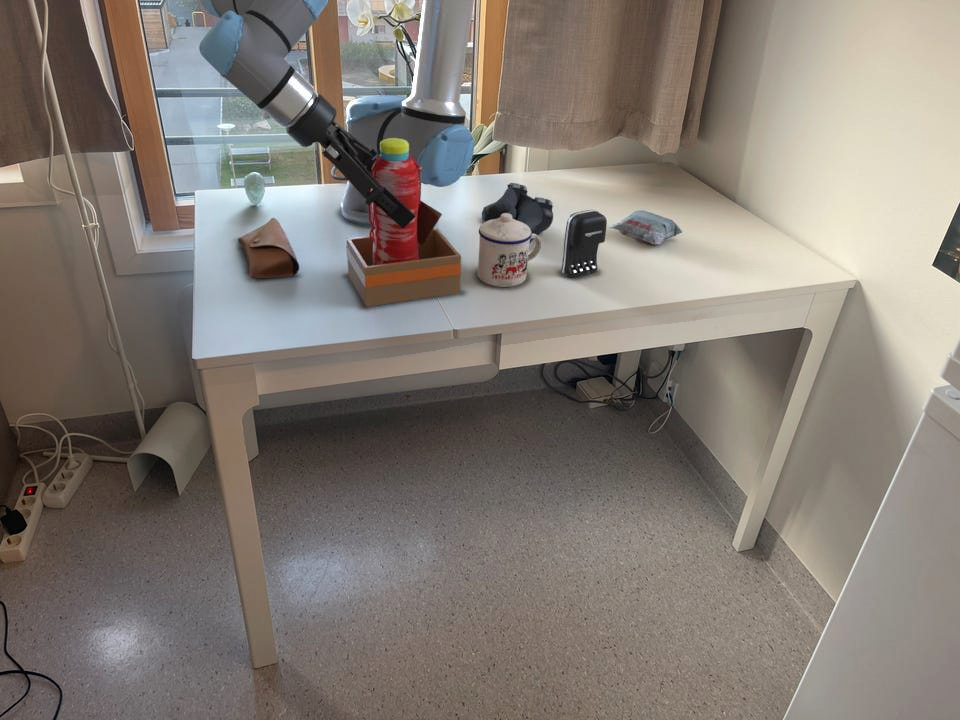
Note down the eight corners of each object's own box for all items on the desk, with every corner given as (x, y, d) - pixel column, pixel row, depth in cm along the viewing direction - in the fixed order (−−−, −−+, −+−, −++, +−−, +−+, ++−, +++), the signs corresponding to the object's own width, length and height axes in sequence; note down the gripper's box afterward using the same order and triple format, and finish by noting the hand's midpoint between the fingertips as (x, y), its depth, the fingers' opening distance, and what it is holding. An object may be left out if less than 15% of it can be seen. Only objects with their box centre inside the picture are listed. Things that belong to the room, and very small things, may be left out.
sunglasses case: (234, 236, 140) (249, 206, 138) (269, 250, 144) (284, 220, 142) (250, 279, 126) (267, 245, 124) (288, 292, 130) (305, 260, 128)
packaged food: (659, 254, 144) (664, 230, 142) (607, 235, 151) (611, 212, 148) (681, 242, 150) (686, 218, 147) (630, 225, 156) (634, 202, 154)
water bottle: (423, 268, 134) (425, 127, 120) (445, 287, 128) (449, 141, 115) (361, 281, 128) (355, 135, 115) (381, 302, 123) (377, 151, 109)
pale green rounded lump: (243, 198, 157) (239, 167, 154) (263, 196, 159) (259, 165, 155) (250, 212, 151) (246, 180, 147) (270, 210, 153) (267, 178, 149)
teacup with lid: (491, 292, 127) (495, 228, 121) (467, 270, 134) (470, 208, 128) (550, 280, 132) (558, 218, 126) (525, 259, 139) (530, 200, 133)
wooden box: (347, 276, 130) (345, 238, 126) (436, 264, 136) (437, 228, 132) (365, 307, 121) (364, 268, 117) (459, 293, 126) (461, 256, 123)
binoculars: (544, 256, 147) (569, 210, 144) (520, 247, 142) (545, 199, 140) (499, 226, 158) (521, 183, 156) (476, 217, 154) (498, 172, 151)
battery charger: (571, 281, 133) (579, 220, 126) (559, 272, 135) (566, 212, 129) (602, 274, 136) (612, 214, 130) (589, 265, 138) (598, 207, 132)
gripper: (283, 106, 120) (379, 193, 131) (283, 155, 100) (396, 254, 111) (315, 72, 118) (409, 163, 130) (321, 115, 98) (432, 219, 109)
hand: (403, 205), depth 120 cm, fingers open, 13 cm apart
